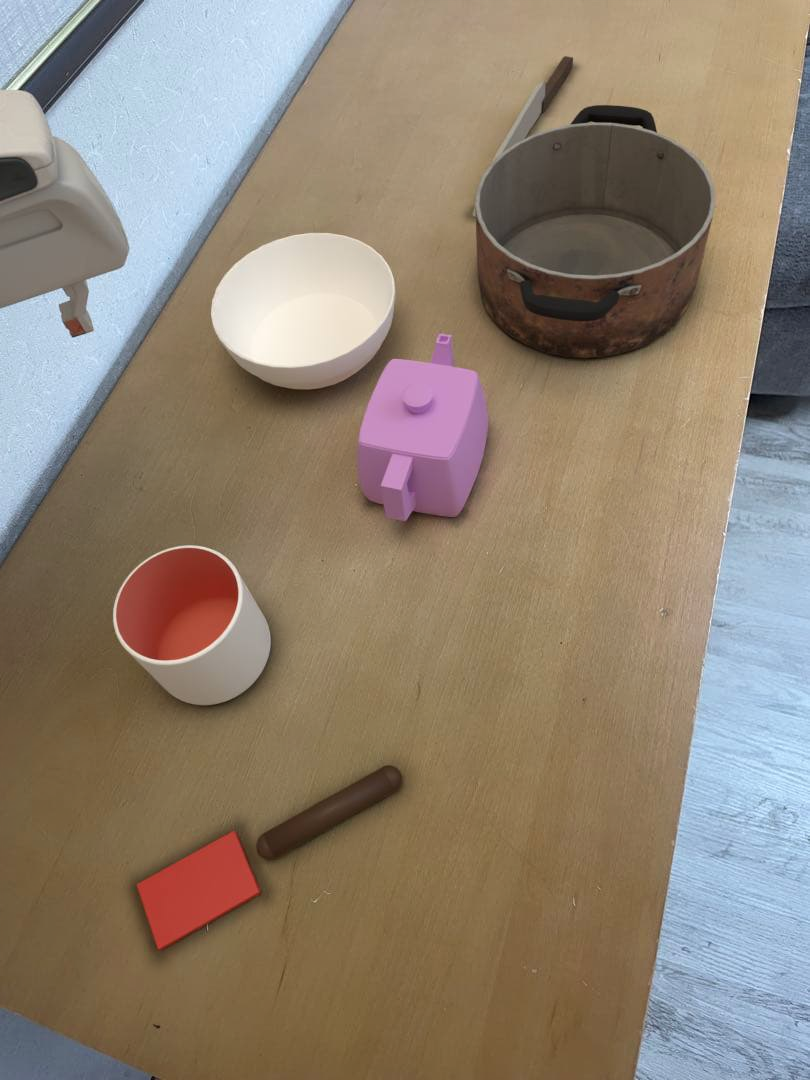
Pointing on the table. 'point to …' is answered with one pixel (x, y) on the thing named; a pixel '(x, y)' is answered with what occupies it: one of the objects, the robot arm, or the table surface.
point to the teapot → (423, 436)
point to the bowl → (305, 309)
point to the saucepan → (592, 234)
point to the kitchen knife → (536, 105)
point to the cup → (193, 624)
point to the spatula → (244, 862)
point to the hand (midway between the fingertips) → (14, 352)
